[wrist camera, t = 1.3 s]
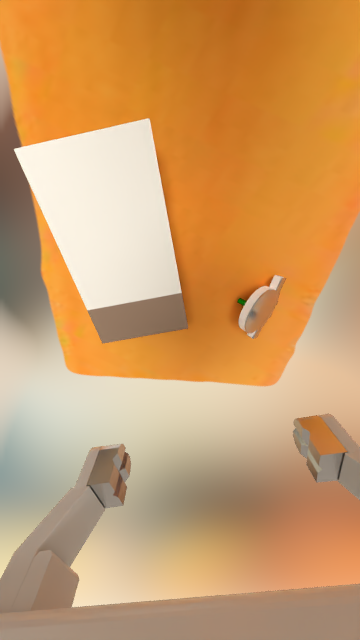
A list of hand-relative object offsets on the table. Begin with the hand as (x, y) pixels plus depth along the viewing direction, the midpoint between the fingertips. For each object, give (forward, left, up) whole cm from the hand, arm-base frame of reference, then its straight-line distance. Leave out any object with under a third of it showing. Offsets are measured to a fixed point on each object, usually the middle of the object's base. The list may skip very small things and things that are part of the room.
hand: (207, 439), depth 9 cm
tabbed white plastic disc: (+12, +16, -36) cm, 41 cm away
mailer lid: (-5, -9, -30) cm, 32 cm away
